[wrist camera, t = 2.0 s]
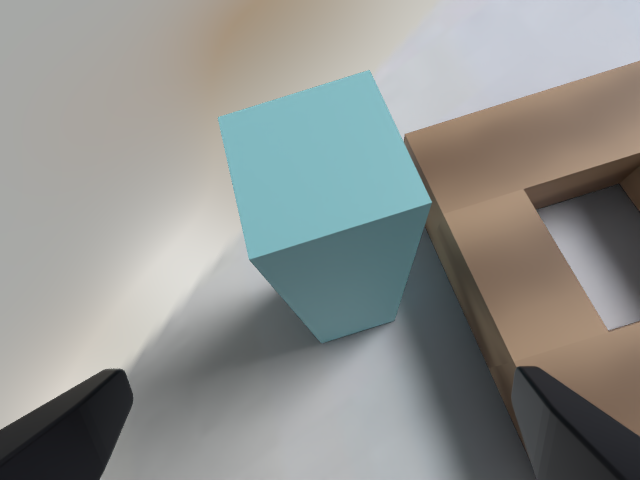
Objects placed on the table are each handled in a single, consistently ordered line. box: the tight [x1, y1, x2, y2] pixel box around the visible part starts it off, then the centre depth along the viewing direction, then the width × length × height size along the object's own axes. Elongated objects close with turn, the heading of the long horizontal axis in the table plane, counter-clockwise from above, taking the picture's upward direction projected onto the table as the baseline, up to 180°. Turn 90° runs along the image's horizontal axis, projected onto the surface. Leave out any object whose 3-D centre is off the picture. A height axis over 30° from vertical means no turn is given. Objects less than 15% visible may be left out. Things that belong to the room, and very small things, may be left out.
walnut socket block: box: [404, 61, 640, 462], centre depth 18 cm, size 17×15×4 cm
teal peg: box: [218, 70, 432, 343], centre depth 15 cm, size 4×4×13 cm
